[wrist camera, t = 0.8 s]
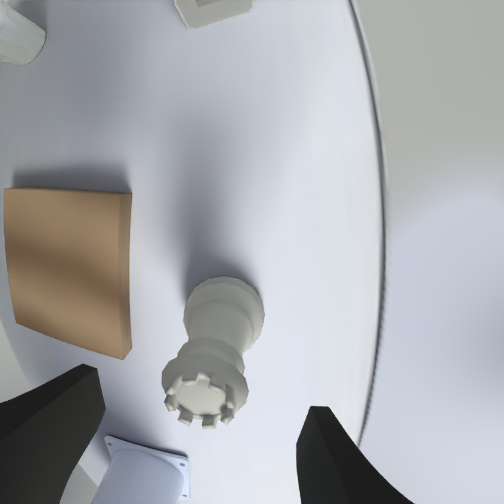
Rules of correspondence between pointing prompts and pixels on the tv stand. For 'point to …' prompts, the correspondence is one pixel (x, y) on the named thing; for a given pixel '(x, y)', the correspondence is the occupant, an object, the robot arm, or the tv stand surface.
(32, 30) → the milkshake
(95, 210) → the walnut plinth
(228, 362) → the rook chess piece
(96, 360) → the tv stand surface
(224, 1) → the usb wall charger
